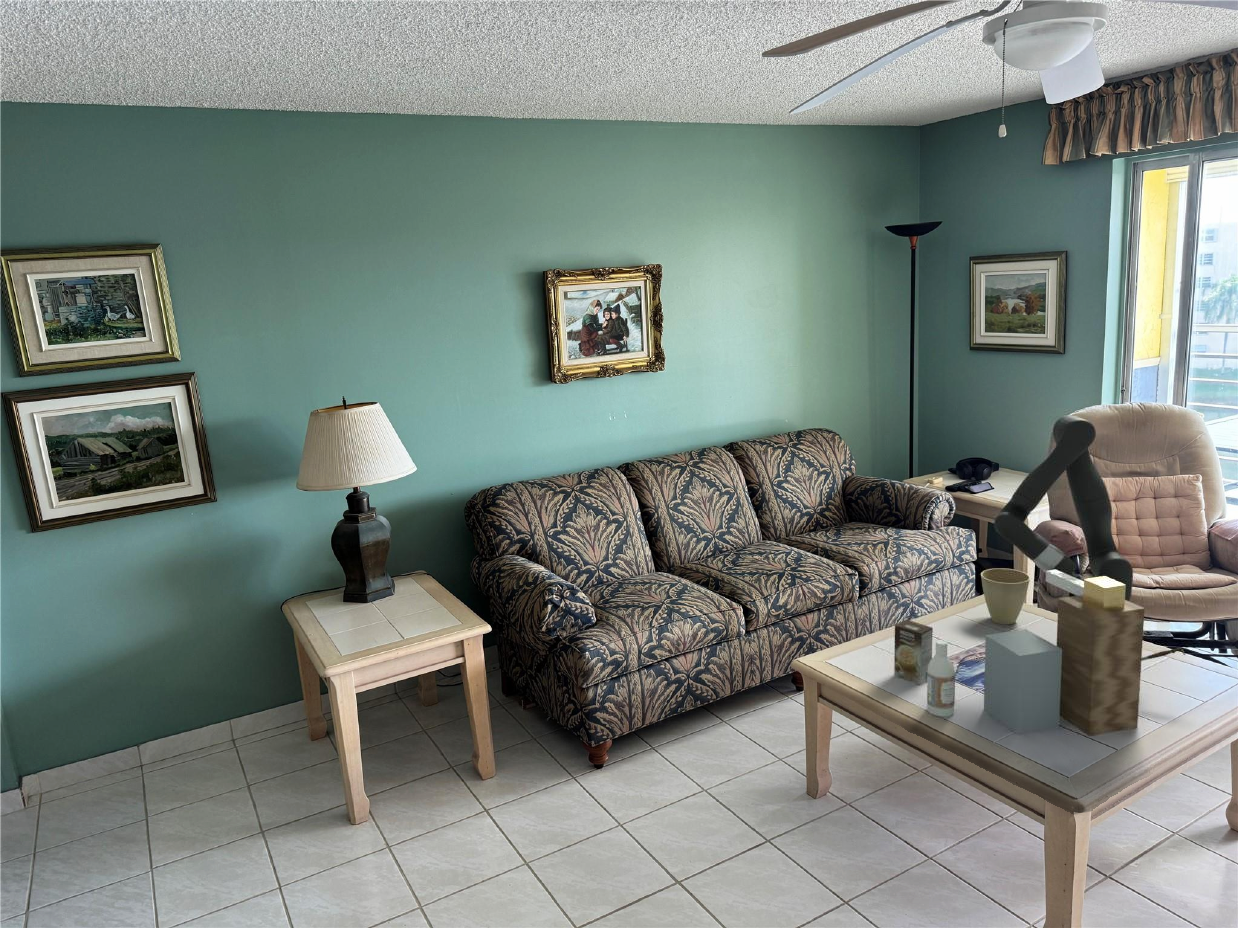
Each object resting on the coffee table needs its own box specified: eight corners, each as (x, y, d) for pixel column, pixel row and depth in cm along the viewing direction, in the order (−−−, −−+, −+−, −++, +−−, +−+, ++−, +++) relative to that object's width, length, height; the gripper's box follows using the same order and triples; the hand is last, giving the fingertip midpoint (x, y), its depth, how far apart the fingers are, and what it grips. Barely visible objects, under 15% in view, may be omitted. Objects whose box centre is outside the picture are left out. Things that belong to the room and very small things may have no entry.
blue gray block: (1023, 703, 239) (1025, 628, 234) (1058, 727, 225) (1062, 648, 221) (983, 709, 236) (985, 635, 232) (1017, 734, 223) (1019, 655, 219)
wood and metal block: (1060, 579, 240) (1061, 558, 239) (1124, 607, 218) (1125, 584, 216) (1040, 581, 239) (1041, 560, 237) (1103, 610, 216) (1104, 587, 215)
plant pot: (973, 623, 294) (974, 578, 291) (988, 609, 305) (989, 565, 302) (1020, 632, 284) (1022, 585, 281) (1034, 617, 295) (1035, 572, 292)
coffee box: (892, 675, 260) (893, 624, 256) (905, 669, 263) (905, 618, 260) (920, 685, 252) (921, 633, 249) (933, 678, 256) (933, 626, 253)
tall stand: (1099, 704, 235) (1105, 591, 229) (1137, 727, 223) (1144, 608, 216) (1053, 712, 233) (1058, 598, 226) (1089, 735, 220) (1095, 615, 214)
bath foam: (936, 719, 233) (937, 648, 229) (922, 707, 240) (922, 639, 236) (959, 715, 234) (960, 645, 230) (944, 703, 241) (945, 635, 237)
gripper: (1064, 556, 243) (1114, 598, 238) (1063, 550, 256) (1111, 590, 251) (1044, 576, 245) (1093, 617, 240) (1044, 569, 258) (1091, 608, 253)
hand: (1102, 603), depth 246 cm, fingers open, 8 cm apart
